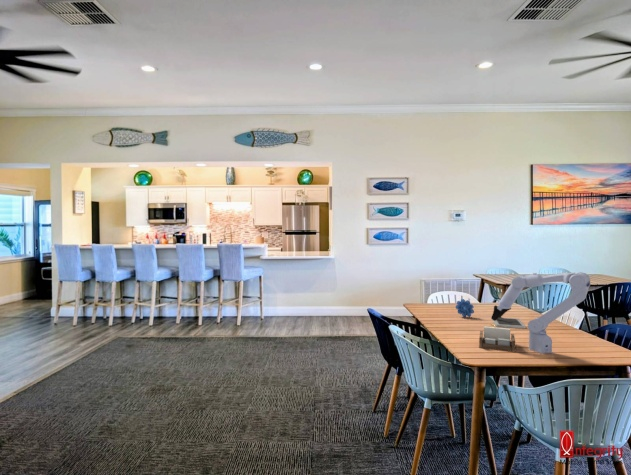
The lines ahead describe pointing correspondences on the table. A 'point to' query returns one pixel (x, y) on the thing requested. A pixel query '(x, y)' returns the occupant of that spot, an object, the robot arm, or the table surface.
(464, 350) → the table surface
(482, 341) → the rack
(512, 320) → the square clock
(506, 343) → the offcut
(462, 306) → the blue flower
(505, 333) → the cream rectangular slab
